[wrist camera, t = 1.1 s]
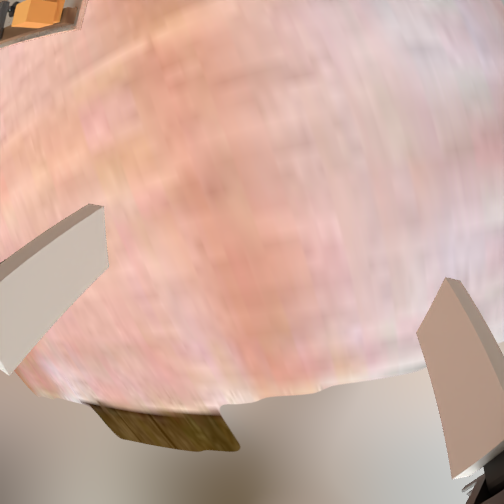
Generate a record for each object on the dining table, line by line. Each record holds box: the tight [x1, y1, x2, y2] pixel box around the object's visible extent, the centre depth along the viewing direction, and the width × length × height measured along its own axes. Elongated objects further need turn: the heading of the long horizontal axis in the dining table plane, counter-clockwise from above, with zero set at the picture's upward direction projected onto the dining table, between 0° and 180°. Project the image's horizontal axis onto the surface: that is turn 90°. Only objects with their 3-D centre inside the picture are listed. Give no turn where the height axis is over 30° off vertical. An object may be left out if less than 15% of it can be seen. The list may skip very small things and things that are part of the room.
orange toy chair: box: [11, 0, 65, 28], centre depth 21 cm, size 8×3×8 cm, turn 169°
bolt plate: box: [0, 0, 88, 49], centre depth 25 cm, size 10×21×3 cm, turn 79°
